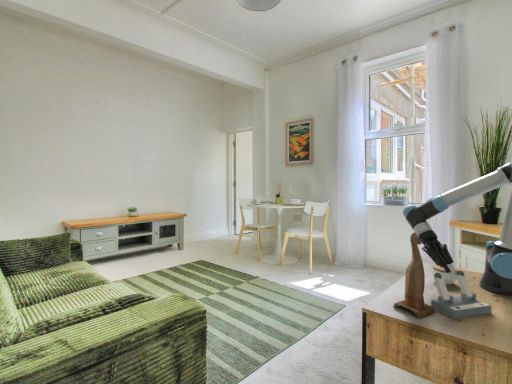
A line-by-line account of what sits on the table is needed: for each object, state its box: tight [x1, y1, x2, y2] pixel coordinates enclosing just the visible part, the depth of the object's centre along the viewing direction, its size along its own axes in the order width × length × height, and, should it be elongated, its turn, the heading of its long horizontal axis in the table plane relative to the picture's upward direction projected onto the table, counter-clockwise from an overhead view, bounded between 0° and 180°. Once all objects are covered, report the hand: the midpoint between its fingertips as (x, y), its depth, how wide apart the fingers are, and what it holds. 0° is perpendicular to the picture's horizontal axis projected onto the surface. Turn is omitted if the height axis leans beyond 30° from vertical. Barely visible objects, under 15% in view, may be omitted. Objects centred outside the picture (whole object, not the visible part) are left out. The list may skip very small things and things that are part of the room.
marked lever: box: [456, 269, 474, 299], centre depth 117 cm, size 3×4×12 cm
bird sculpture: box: [393, 231, 436, 320], centre depth 112 cm, size 11×12×32 cm
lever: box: [433, 273, 451, 303], centre depth 114 cm, size 3×4×12 cm
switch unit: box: [430, 291, 492, 320], centre depth 112 cm, size 10×19×6 cm, turn 105°
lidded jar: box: [432, 264, 459, 286], centre depth 142 cm, size 11×11×9 cm
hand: (455, 279), depth 120 cm, fingers closed
